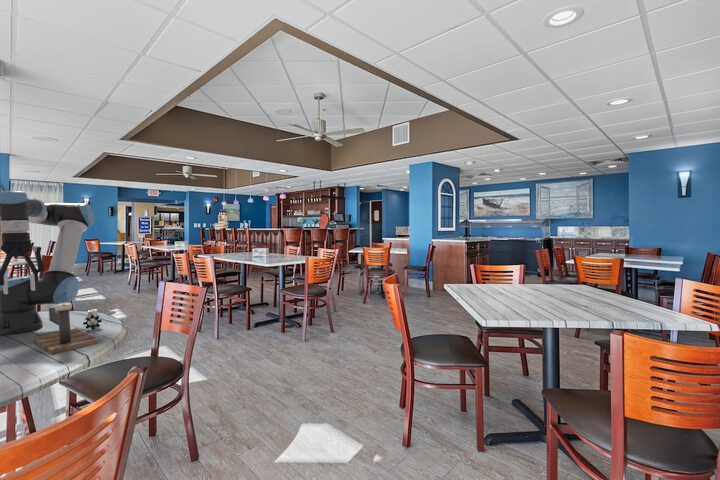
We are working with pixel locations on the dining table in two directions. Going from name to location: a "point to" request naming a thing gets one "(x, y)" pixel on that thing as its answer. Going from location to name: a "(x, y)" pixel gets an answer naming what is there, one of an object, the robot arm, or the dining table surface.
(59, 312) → the dark piece
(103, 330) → the dining table surface
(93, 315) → the valve
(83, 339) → the board
